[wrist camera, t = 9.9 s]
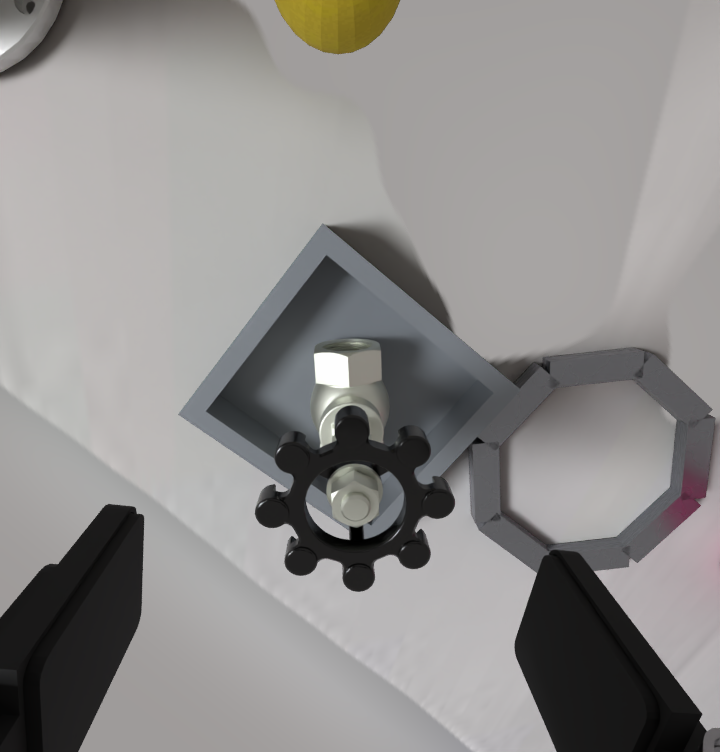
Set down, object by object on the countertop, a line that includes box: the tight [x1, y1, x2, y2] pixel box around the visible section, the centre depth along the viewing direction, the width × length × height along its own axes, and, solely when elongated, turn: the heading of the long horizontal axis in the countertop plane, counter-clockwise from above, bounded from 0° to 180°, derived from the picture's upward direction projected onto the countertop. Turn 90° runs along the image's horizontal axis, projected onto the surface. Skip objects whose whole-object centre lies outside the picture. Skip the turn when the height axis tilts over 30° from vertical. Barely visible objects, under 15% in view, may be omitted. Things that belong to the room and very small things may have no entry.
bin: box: [178, 224, 521, 539], centre depth 26 cm, size 13×12×4 cm
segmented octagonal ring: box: [468, 348, 715, 573], centre depth 29 cm, size 15×15×1 cm
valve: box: [255, 339, 455, 592], centre depth 21 cm, size 7×7×12 cm
